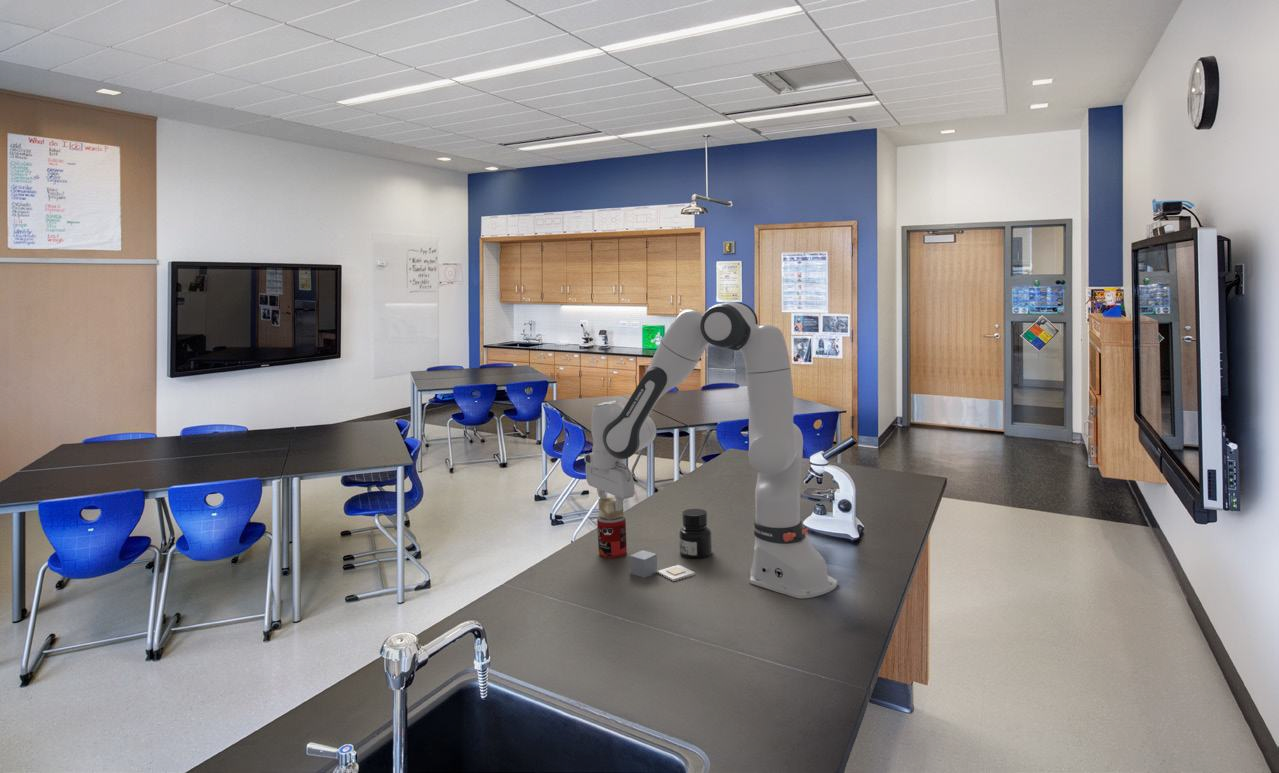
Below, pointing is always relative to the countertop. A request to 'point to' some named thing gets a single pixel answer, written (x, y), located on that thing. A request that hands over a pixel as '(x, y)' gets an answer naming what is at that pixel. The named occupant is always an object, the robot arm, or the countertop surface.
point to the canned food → (612, 537)
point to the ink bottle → (695, 535)
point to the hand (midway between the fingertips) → (610, 507)
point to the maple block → (609, 508)
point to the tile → (676, 572)
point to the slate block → (643, 563)
